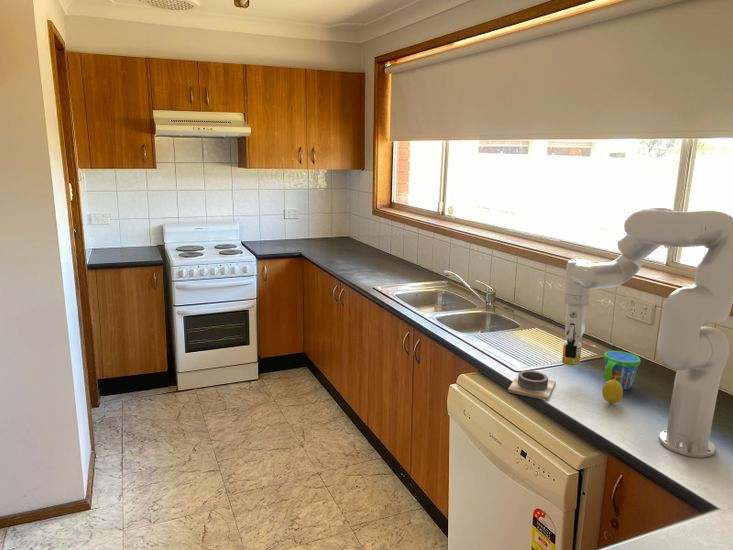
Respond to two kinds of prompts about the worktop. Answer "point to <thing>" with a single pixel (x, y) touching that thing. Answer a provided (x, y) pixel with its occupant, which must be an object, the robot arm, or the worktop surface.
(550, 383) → the collar board
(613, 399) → the lemon
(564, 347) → the supplement bottle
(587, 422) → the worktop surface
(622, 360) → the snack cup
